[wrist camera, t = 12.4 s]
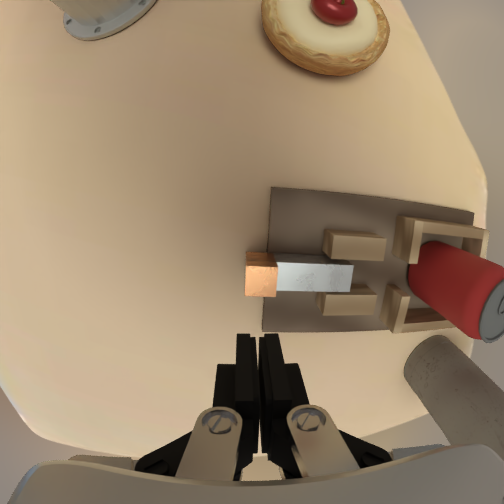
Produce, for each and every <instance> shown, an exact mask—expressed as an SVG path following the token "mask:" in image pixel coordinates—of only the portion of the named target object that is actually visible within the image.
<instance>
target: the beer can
mask: <svg viewBox="0 0 504 504" xmlns="http://www.w3.org/2000/svg"><path fill="white" fill-rule="evenodd" d="M408 280H409V285H410V289H411V290H412V292H413V294H414V295H416V296H417V297H418V298H420V299H421V300H422V301H424V302H425V303H426V304H428V305H429V306H430V307H431V308H433V309H434V310H435V311H437V312H438V313H439V314H441V315H442V316H443V317H444V318H446V319H447V320H448V321H450V322H451V323H452V324H453V325H455V326H456V327H457V328H458V329H460V330H461V331H462V332H463V333H465V334H466V335H467V336H469V337H471V338H474V339H480V340H483V341H484V342H486V343H492V342H494V341H496V340H498V339H499V338H500V337H502V336H503V335H504V268H503V267H502V266H500V265H498V264H496V263H493V262H491V261H488V260H486V259H484V258H481V257H479V256H477V255H474V254H472V253H469V252H467V251H464V250H462V249H459V248H456V247H454V246H451V245H449V244H446V243H443V242H440V241H431V242H429V243H427V244H425V245H423V246H422V247H421V248H420V251H419V257H418V262H417V264H410V267H409V273H408Z"/></svg>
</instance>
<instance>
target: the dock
mask: <svg viewBox="0 0 504 504" xmlns="http://www.w3.org/2000/svg"><path fill="white" fill-rule="evenodd" d="M473 220H474V213H472V212H468V211H462V210H457V209H452V208H446V207H440V206H434V205H428V204H422V203H416V202H409V201H402V200H395V199H388V198H380V197H372V196H364V195H355V194H346V193H336V192H326V191H315V190H303V189H291V188H276V187H271V201H270V218H269V233H268V249H267V253H284V254H305V255H327V256H329V257H330V258H331V259H347V260H348V261H349V262H350V263H352V264H353V265H354V267H353V273H352V280H351V286H350V292H316V291H278V290H276V297H264V305H263V319H262V332H350V331H373V330H390V331H391V332H392V333H406V332H417V331H427V330H436V329H445V328H453V327H456V326H455V325H453V324H452V323H451V322H450V321H448V320H447V319H446V318H444V317H443V316H442V315H441V314H439V313H438V312H437V311H435V310H434V309H433V308H431V307H430V306H429V305H428V304H426V303H425V302H424V301H422V300H421V299H420V298H418V297H417V296H416V295H414V294H413V292H412V290H411V289H410V285H409V280H408V273H409V267H410V264H417V262H418V257H419V251H420V248H421V247H422V246H423V245H425V244H427V243H429V242H431V241H440V242H443V243H446V244H449V245H451V246H454V247H456V248H459V249H462V250H464V251H467V252H469V253H472V254H474V255H477V256H479V257H481V258H484V259H485V255H486V250H487V244H488V238H489V231H488V230H485V229H482V228H478V227H475V226H473Z"/></svg>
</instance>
